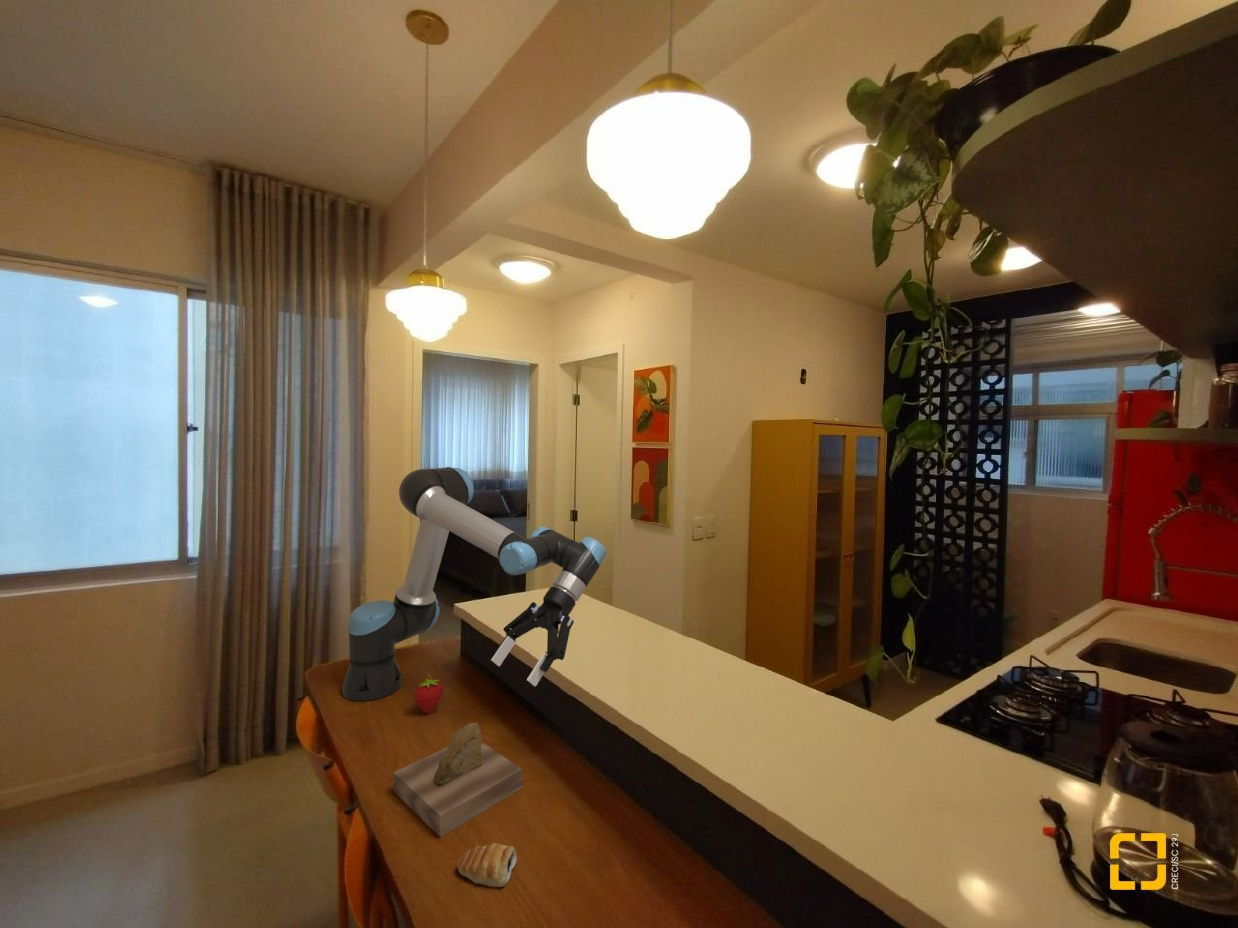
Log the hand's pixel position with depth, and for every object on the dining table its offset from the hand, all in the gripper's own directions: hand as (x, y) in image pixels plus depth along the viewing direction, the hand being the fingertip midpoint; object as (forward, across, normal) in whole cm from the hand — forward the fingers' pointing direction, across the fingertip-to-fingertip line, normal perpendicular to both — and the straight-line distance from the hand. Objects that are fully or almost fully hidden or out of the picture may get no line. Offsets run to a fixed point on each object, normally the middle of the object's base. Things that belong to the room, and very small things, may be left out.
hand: (512, 673), depth 119 cm
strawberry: (+17, +28, -10) cm, 34 cm away
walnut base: (+24, -4, -2) cm, 24 cm away
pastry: (+29, -25, +3) cm, 38 cm away
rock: (+21, -4, +1) cm, 21 cm away
